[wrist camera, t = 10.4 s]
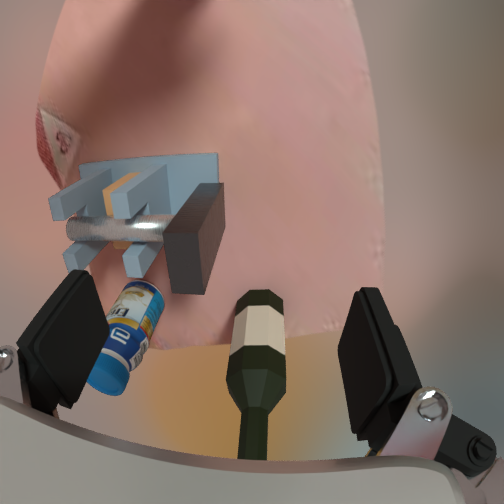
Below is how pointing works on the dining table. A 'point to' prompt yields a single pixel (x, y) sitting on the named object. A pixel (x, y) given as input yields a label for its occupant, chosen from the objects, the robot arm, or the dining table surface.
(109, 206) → the tan square block
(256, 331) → the wine bottle
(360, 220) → the dining table surface
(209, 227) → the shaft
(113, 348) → the beverage bottle
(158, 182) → the bearing block
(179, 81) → the dining table surface
